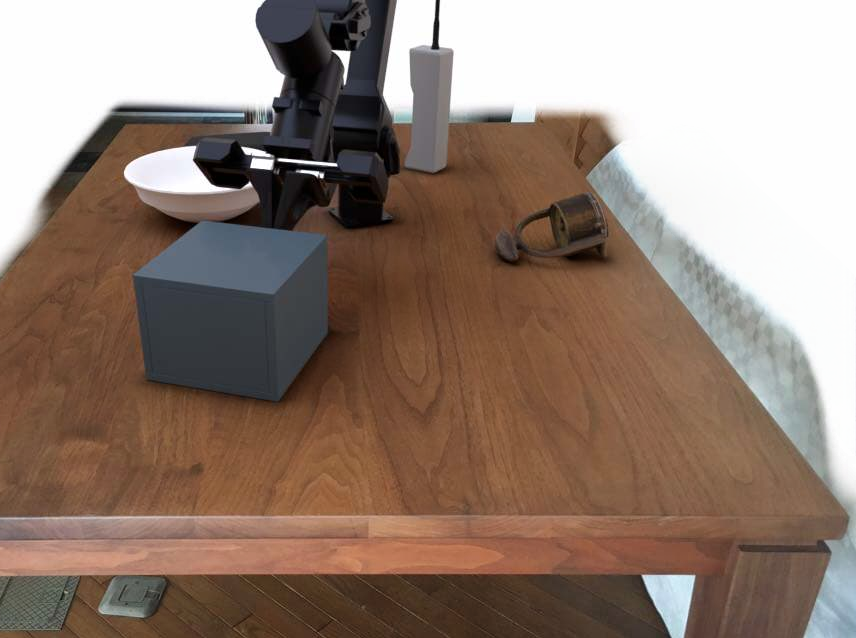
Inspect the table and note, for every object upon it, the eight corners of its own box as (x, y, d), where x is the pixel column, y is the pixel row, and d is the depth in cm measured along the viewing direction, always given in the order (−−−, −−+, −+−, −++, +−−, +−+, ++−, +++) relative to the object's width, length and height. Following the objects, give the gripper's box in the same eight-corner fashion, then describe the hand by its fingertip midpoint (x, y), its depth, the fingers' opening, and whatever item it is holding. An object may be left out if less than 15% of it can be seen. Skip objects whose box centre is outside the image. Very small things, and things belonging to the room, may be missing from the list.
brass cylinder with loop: (621, 230, 96) (620, 182, 103) (501, 212, 98) (508, 165, 105) (603, 284, 101) (604, 235, 108) (490, 266, 103) (497, 218, 110)
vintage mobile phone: (417, 162, 136) (426, -20, 123) (446, 168, 133) (458, -18, 120) (404, 168, 133) (411, -18, 120) (433, 174, 131) (444, -15, 118)
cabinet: (209, 315, 91) (202, 220, 86) (328, 333, 88) (327, 234, 83) (145, 379, 80) (132, 274, 75) (278, 402, 77) (273, 294, 72)
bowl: (147, 190, 125) (142, 144, 122) (290, 191, 124) (288, 145, 121) (113, 243, 108) (106, 191, 105) (278, 244, 107) (276, 192, 104)
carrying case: (191, 174, 131) (290, 167, 134) (189, 153, 129) (290, 146, 132) (183, 154, 140) (277, 147, 143) (182, 134, 138) (276, 128, 141)
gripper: (409, 153, 95) (379, 292, 92) (246, 139, 100) (212, 270, 97) (392, 94, 84) (358, 249, 81) (210, 81, 89) (171, 227, 86)
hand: (271, 250), depth 87 cm, fingers closed, pressing on drawer
